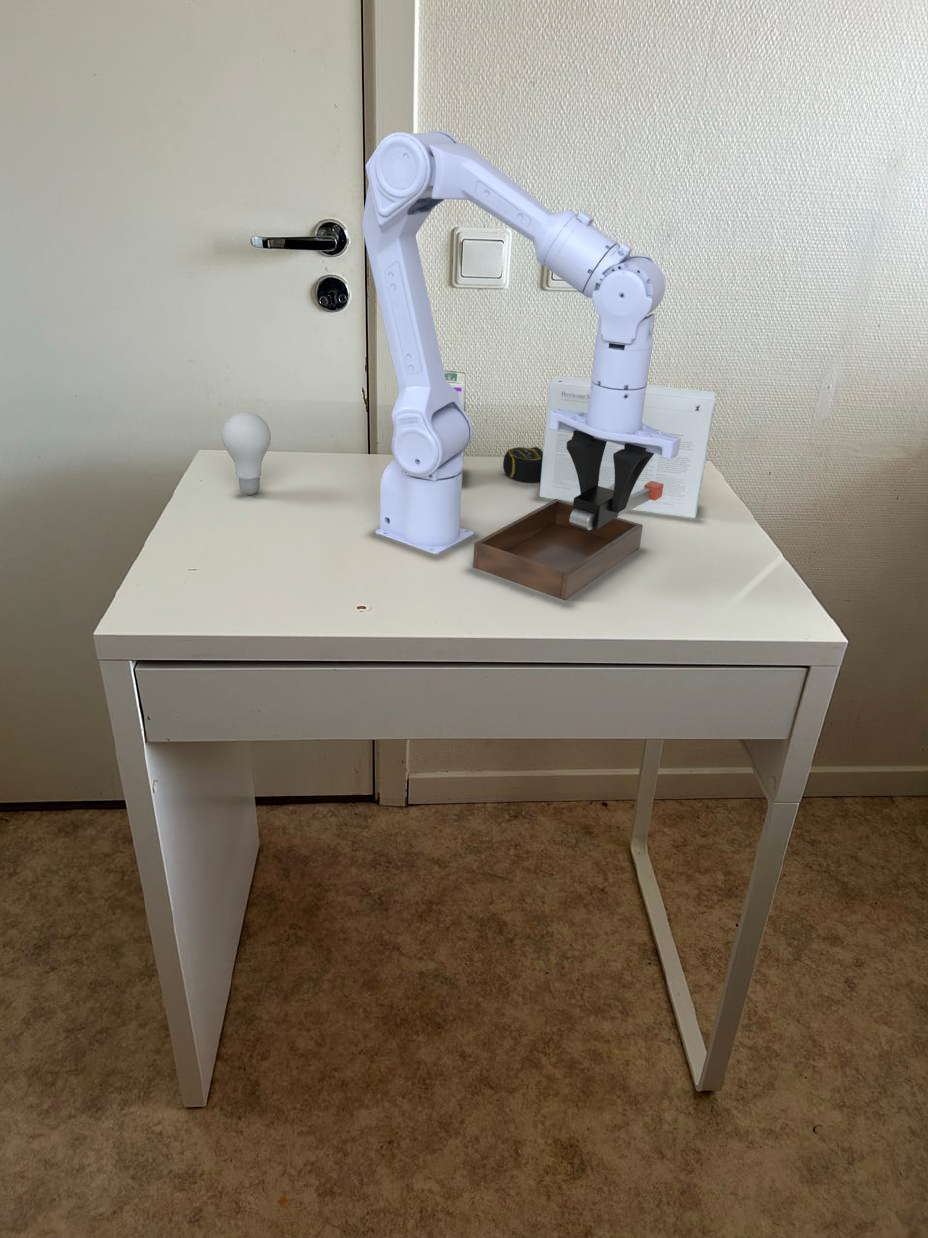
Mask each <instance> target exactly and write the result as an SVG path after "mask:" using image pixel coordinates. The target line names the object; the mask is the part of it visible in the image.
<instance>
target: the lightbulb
mask: <svg viewBox="0 0 928 1238" xmlns="http://www.w3.org/2000/svg"><path fill="white" fill-rule="evenodd" d="M221 440H222V444H223V447H224V448H225V450H226V452H227V453H228V455H229V456H230V458H231V459H232V462H233V464H234V467H235V474H236V476H237V477H238V485H239V490H240V492H241V493H243V494H245V495H247V496H253V495H255V493H257V492H259V490H260V485H261V484H260V481H261V479H260V478H261V477H260V476H261V475H262V464H263V461H264V457H265V455H266V454H267V452H268V450H269V447H270V445H271V440H272V434H271V430H270V428H269V425H268V423H267V422H266V421H265V420H264V418H263V417H261V416H260V415H258V414H256V413H253V412H251V411H240V412H237V413H234V414H233V415H231V416H229V417H228V418H227V420H226V421H225V422H224V424H223V426H222V430H221Z"/></svg>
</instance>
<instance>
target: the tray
mask: <svg viewBox="0 0 928 1238" xmlns="http://www.w3.org/2000/svg"><path fill="white" fill-rule="evenodd" d="M572 511H573V503H571V502H570V501H566V500H561V499H553V500H551V501H549V502H547V503H545V504H544V505H542V506H540V507H538V508H536V509H535V510H533V511H530V512H528V513H527V514H525V515H523V516H521V517H520V518H518V519H516V520H514V521H512V522H511V523H509V524H507V525H504V526H503V527H501V528H499V529H498V530H496V531H493V532H492V533H491V534H488V535H487V536H485V537H483V538H481V539H479V540H477V541H475V542H474V544H473V557H472V559H473V560H472V568H474V569H476V570H479V571H482V572H485V573H488V574H490V575H493V576H495V577H498V578H501V579H505V580H506V581H509V582H513V583H514V584H518V585H521V586H524V587H526V588H529V589H532V590H534V591H537V592H540V593H543V594H544V595H545V594H546V595H548V596H551V597H553V598H557V599H559V600H562V601H566V600H567V599H569V598H570V597H572V596H573V595H575V594H577V593H578V592H579V591H581V590H582V589H583V588H585V587H586V586H588V585H589V584H590V583H592V582H594V581H595V580H597V578H599V577H601V576H602V575H603V574H605V573H606V572H608V571H609V570H611V569H612V568H613V567H615V566H617V565H618V564H619V563H620V562H622V561H623V560H625V559H626V558H628V557H629V556H631V555H632V554H634V553H635V552H636V551H638V550H639V549H640V547H641V540H642V534H643V533H642V532H643V529H644V528H643V527H644V526H643V524H641V523H638V522H635V521H630V520H628V519H625V518H621V517H619V516H618V517H616V518H614V519H613V520H611V521H610V522H608V523H606V524H605V525H603V526H602V527H600V528H598V529H594V528H592V529H591V530H586V529H583V528H580V527H577V526H573V525H571V524H570V522H569V519H570V515H571V513H572Z"/></svg>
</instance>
